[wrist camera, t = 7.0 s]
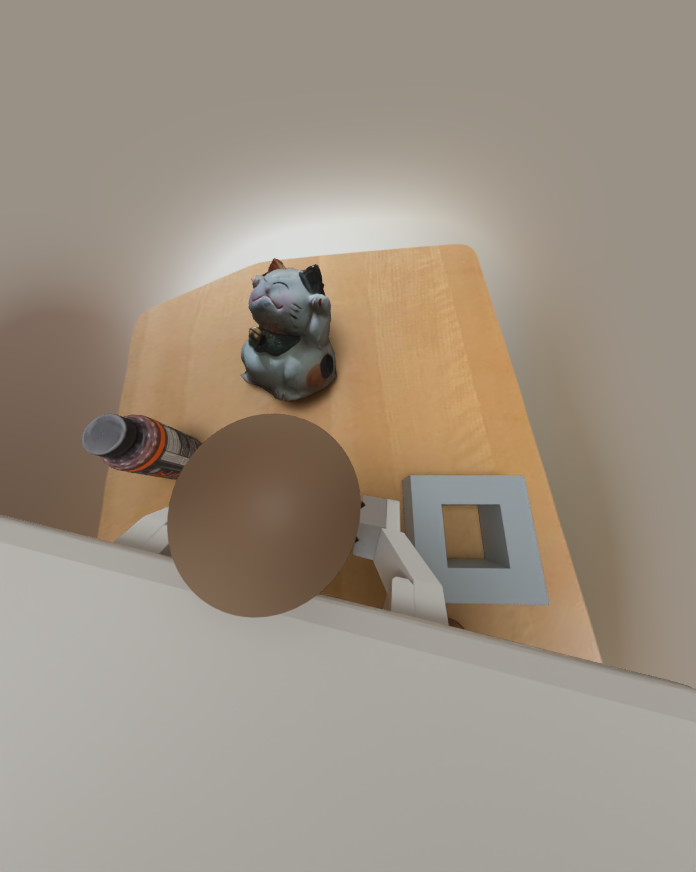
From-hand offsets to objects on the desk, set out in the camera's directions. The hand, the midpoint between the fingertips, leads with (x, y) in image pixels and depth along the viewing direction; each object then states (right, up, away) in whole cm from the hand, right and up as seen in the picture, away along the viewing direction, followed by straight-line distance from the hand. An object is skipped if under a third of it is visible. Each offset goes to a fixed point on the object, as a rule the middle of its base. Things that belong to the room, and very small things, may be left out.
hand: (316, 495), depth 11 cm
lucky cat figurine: (-7, +14, +27) cm, 31 cm away
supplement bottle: (-21, -1, +23) cm, 31 cm away
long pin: (0, -3, +8) cm, 8 cm away
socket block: (+14, -9, +19) cm, 25 cm away
